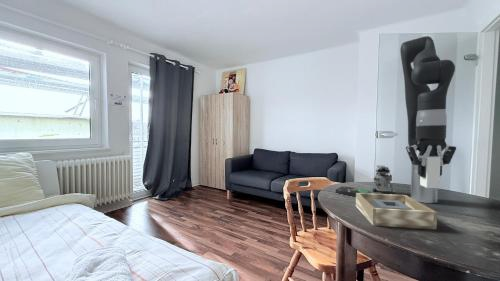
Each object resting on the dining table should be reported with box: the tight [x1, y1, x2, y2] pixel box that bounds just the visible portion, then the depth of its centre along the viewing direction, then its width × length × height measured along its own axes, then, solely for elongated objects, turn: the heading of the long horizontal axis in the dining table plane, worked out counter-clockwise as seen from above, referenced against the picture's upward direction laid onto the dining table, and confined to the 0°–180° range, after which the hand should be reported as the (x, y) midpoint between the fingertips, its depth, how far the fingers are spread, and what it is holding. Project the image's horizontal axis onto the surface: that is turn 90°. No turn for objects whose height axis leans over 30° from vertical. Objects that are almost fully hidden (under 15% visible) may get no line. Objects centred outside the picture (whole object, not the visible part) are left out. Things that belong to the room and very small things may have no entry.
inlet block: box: [372, 199, 412, 210], centre depth 85 cm, size 10×10×4 cm
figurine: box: [372, 164, 394, 195], centre depth 116 cm, size 9×12×15 cm
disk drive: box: [335, 185, 372, 198], centre depth 115 cm, size 10×3×15 cm
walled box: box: [355, 193, 438, 231], centre depth 85 cm, size 20×20×6 cm
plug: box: [420, 155, 441, 189], centre depth 71 cm, size 4×4×13 cm
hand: (429, 176), depth 71 cm, fingers closed on plug, 3 cm apart
